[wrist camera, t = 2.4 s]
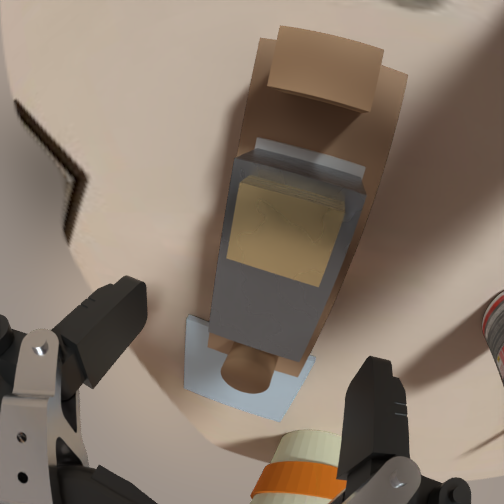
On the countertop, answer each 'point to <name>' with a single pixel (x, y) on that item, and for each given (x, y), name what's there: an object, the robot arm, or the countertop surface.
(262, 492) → the reusable coffee cup
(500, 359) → the pill bottle
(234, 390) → the rubber mat
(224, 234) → the lever cap
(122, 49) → the countertop surface
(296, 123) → the plane body
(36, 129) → the countertop surface
